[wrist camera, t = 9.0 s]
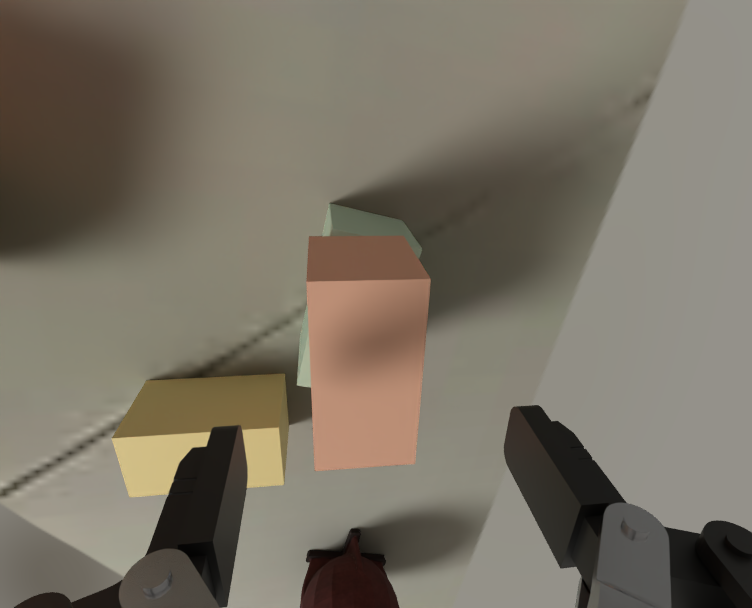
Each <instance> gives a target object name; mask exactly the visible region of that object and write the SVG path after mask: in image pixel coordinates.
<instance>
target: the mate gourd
mask: <svg viewBox="0 0 752 608" xmlns="http://www.w3.org/2000/svg"><path fill="white" fill-rule="evenodd" d="M360 535H361V533H360V530H359V529H350V532H349V534H348V537H347V540H346V543H345V546H344V548H343V550H342V551H341V552H335V551H317V550H309V551H308V553H307V558H306V562H310V564H309V567H308V571H307V574H306V577H305V580H304V584H303V587H302V594H301V604H300V608H399V605H398V601H397V597H396V594H395V592H394V590H393V587H392V585H391V583H390V582H389V580H388V578H387V575H386V573H385V571H384V568H383V566H384V565H385V563H386V560H385V558H384V555H381V554H366V553H360V549H359V545H358V542H359V539H360Z"/></svg>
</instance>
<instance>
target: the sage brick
mask: <svg viewBox="0 0 752 608" xmlns="http://www.w3.org/2000/svg"><path fill="white" fill-rule="evenodd" d="M322 236H404V237H405V239H406V240H407V242H408V244H409V245H410V247H411V248H412V250H413V251H414V253H415V255H416V256H417V258H418V259H419V258H420V255H421V252H422V248H421V246H420V245H419V243H418V242H417V240H416V239H415V238H414V236H413V235H412V233H411V232H410V231H409V229H408V228H407V226H406V225H405V223H404V222H403V221H402V220H399V219H395V218H390V217H386V216H382V215H378V214H373V213H369V212H365V211H361V210H357V209H352V208H348V207H344V206H340V205H335V204H331V203H329V207H328V212H327V216H326V221H325V225H324V230H323V234H322ZM297 386H304V387H311V373H310V350H309V327H308V305H307V307H306V311H305V316H304V320H303V325H302V330H301V334H300V345H299V360H298V374H297Z"/></svg>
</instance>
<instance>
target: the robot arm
mask: <svg viewBox="0 0 752 608" xmlns="http://www.w3.org/2000/svg"><path fill="white" fill-rule="evenodd" d="M504 455H505V460H506V463H507V465H508V468H509V470H510V471H511V473H512V475H513V477H514V479H515V481H516V483H517V485H518V487H519V489H520V491H521V493H522V495H523V497H524V499H525V501H526V502H527V504H528V506H529V508H530V510H531V512H532V514H533V516H534V518H535V520H536V522H537V524H538V526H539V528H540V529H541V531H542V533H543V535H544V537H545V539H546V541H547V543H548V545H549V547H550V549H551V551H552V553H553V555H554V556H555V558H556V560H557V562H558V564H559V566H560V568H569V567H577V569H578V570H579V572H580V574H581V578H580V581H579V586H578V592H577V599H576V605H575V608H752V533H751V532H750V531H748V530H746V529H745V528H742V527H741V526H738V525H736V524H733V523H730V522H726V521H711V522H708V523H707V524H706V525H705V527H704V528H703V530H702V532H701V534H698V533H692V532H688V531H683V530H677V529H672V528H667V527H664V526H663V525H662V524H661V523H660V522H659V521H658V519H656V518H655V517H654V516H653V515H652V514H650V513H649V512H647V511H646V510H644V509H642V508H640V507H638V506H635V505H632V504H628V503H626V501H625V500H624V499H623V498H622V496H621V495H620V494H619V493H618V491H617V490H616V488H615V487H614V486H613V485H612V483H611V482H610V480H609V479H608V478H607V476H606V475H605V474H604V472H603V471H602V470H601V469H600V467H599V466H598V465H597V463H596V462H595V461H594V460H592V457H591V455H590V454H589V453H588V452H587V450H586V449H584V446H583V445H582V443H581V442H580V441H579V439H578V438H577V437H576V436H575V434H574V433H573V432H572V431H570V430H569V429H568V428H566V427H565V426H564V425H562V424H561V423H560V422H558V421H552V422H551V420H550V419H549V418H548V416H547V415H546V413H545V412H544V410H543V409H542V408H541V407H540V406H538V405H532V406H518V407H513V408H512V409H511V412H510V417H509V422H508V428H507V433H506V438H505V443H504ZM173 480H174V481H173V483H172V485H171V487H170V490H169V495H168V497H167V499H166V501H165V504H164V507H163V510H162V513H161V515H160V518H159V521H158V524H157V527H156V529H155V532H154V535H153V538H152V541H151V543H150V546H149V549H148V551H147V553H146V555H145V557H143V558H142V559H140V560H139V561H138V562H137V563H135V564H134V565H133V566H132V567H131V569H130V570H129V571H128V572H127V574H126V575H125V577H124V579H123V580H121V581H120V582H118V583H117V584H115V585H113V586H111V587H109V588H107V589H104V590H102V591H99V592H97V593H94V594H92V595H89V596H87V597H84V598H82V599H79V600H77V601H74V602H72V603H71V602H70V600H69V599H68V598H67V597H66V596H65V595H63V594H60V593H54V592H50V593H43V594H39V595H37V596H34V597H31V598H29V599H27V600H25V601H24V602H22V603H20V604H18V605H17V606H16V607H14V608H221V607H227V604H228V598H229V592H230V586H231V580H232V574H233V568H234V562H235V556H236V550H237V544H238V538H239V532H240V526H241V520H242V514H243V508H244V502H245V496H246V490H247V480H248V468H247V459H246V453H245V446H244V439H243V432H242V427H241V425H234V426H219V427H213V428H212V430H211V433H210V436H209V440H208V443H207V446H206V447H194V448H192V449H191V450H190V451H189V452H188V453H187V454H186V456H185V457H184V458H183V459H182V460H181V461H180V463H179V465H178V468H177V471H176V474H175V476H174V479H173Z"/></svg>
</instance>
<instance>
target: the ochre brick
mask: <svg viewBox="0 0 752 608" xmlns="http://www.w3.org/2000/svg"><path fill="white" fill-rule="evenodd" d="M234 425H241V427H242V432H243V439H244V446H245V453H246V459H247V468H248V480H247V488H251V487H263V486H276V485H284V479H285V467H286V455H287V443H288V431H289V419H288V407H287V394H286V381H285V374H266V375H246V376H226V377H207V378H187V379H167V380H148V381H146V382H145V384H144V386H143V387H142V389H141V391H140V392H139V394H138V396H137V397H136V399H135V401H134V402H133V404H132V406H131V407H130V409H129V411H128V412H127V414H126V416H125V417H124V419H123V421H122V422H121V424H120V426H119V427H118V429H117V431H116V432H115V434H114V436H113V437H112V441H113V444H114V447H115V451H116V454H117V457H118V461H119V464H120V467H121V471H122V474H123V477H124V481H125V484H126V487H127V491H128V494H129V497H140V496H152V495H165V494H169V490H170V487H171V485H172V483H173V481H174V480H173V479H174V476H175V474H176V471H177V468H178V465H179V463H180V461H181V460H182V459H183V458H184V457H185V456H186V454H187V453H188V452H189V451H190V450H191V449H192V448H194V447H206V446H207V443H208V440H209V436H210V433H211V430H212V428H213V427H219V426H234Z"/></svg>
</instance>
